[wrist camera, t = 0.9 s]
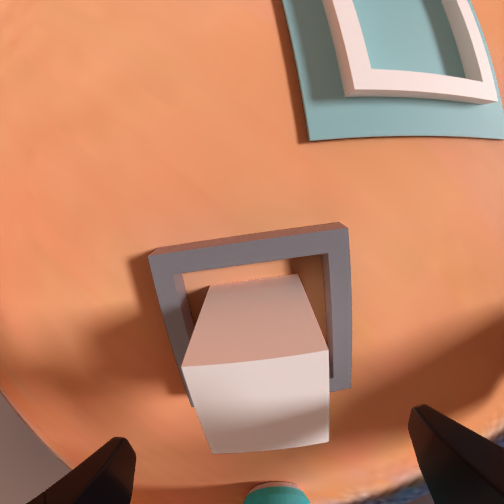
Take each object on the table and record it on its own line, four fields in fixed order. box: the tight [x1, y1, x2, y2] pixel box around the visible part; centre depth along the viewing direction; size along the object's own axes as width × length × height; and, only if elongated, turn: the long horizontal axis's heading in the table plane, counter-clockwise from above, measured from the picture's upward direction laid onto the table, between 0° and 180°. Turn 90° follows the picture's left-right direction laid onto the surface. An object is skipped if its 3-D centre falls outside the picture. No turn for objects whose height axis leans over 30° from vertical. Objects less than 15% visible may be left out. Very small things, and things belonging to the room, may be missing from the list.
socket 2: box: [281, 0, 504, 141], centre depth 11 cm, size 13×13×2 cm
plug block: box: [181, 274, 329, 454], centre depth 13 cm, size 4×5×7 cm
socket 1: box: [148, 222, 352, 407], centre depth 15 cm, size 9×9×2 cm
